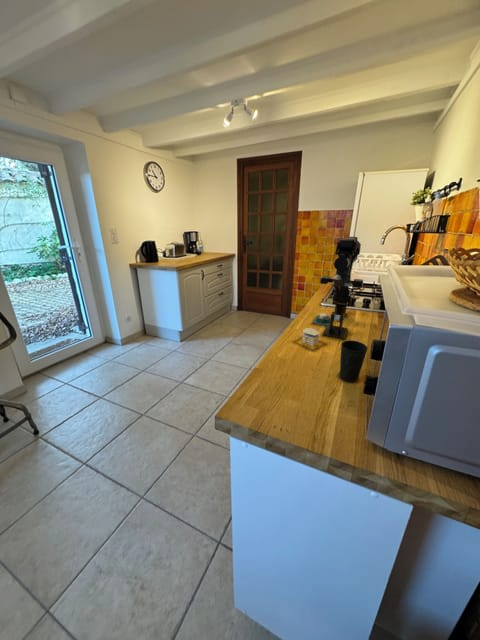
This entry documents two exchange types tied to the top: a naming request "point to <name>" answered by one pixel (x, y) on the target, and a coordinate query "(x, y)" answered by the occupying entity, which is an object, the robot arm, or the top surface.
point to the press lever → (337, 317)
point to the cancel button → (323, 316)
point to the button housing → (322, 321)
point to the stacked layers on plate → (310, 336)
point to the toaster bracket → (335, 328)
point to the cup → (351, 360)
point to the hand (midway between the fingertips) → (338, 298)
